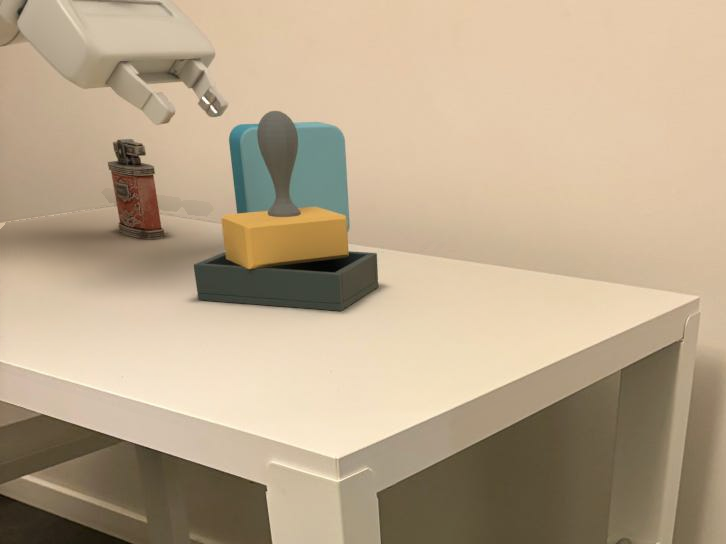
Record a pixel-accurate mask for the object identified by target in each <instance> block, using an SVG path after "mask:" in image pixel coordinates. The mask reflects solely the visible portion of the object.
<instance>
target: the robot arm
mask: <svg viewBox="0 0 726 544" xmlns="http://www.w3.org/2000/svg"><path fill="white" fill-rule="evenodd" d="M24 43H29V45H31V46H32V47H33V48H34V50H35V51H36V52H37V53H38V54H39V55H40V56H41V57H42V58H43V59H44V60H45V61H46V62H47V63H48V64H49V65H50V66H51V67H52V68H53V69H54V70H55V71H56V72H57V73H58V74H59V75H60V76H61V77H62V78H64V79H65V80H67V81H68V82H70V83H72V84H73V85H75V86H76V87H78V88H80V89H83V90H84V89H85V90H89V89H100V88H111V90H113V91H114V93H115V94H116V95H117V96H119V98H122V99H123V100H124V101H126V102H128V103H130V104H131V105H132V106H133V107H135V108H137V109H138V110H139V111H142V112H143V114H144V115H145V116H146V117H147V118H148V119H149V120H150V121H151V122H152V124H154V125H156V126H159V125H165V124H169V123H170V121H171V120H172V118H173V117H174V115H175V114H176V107H175V105H174V104H173V103H172V102H171V101H170V100H169V99H168V97H166V95H165V94H164V93H163V92H157V91H156V90H155V89H153V88H152V87H151V86H150V85H156V84H157V85H158V84H169V83H182V84H183V85H185V86H186V87H187V88H188V89H192V90H193V92H194V94H195V95H196V97H197V99H198V100H199V101H198V102H197V105H198V106H199V107H200V108H201V109H202V111H204V112H205V113H206V115H207V116H208V117H210V118H218V117H222V116H223V114H224V113H225V111H226V110H227V109H228V107H229V102H228V100H227V99H226V97H225V96H224V95H223V94H222V92H221V91H219V89H218V88H217V85H216V83H215V82H214V79H213V76H212V74H211V72H210V70H209V67H210V66H211V64H212V62H213V61H214V59H215V58H216V55H217V54H216V53H217V52H216V50H215V47H214V45H213V44H212V42H211V40H210V39H209V38H208V36H206V35H205V33H204V32H203V31H202V30H201V29H200V28H199V27H198V26H197V25H196V24H195V22H193V21H192V20H191V19H190V17H188V16H187V14H186V13H185V12H184V11H183V10H182V9H180V7H178V5H177V4H176V3H174V1H173V0H0V48H2V47H7V46H12V45H18V44H24Z"/></svg>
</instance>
